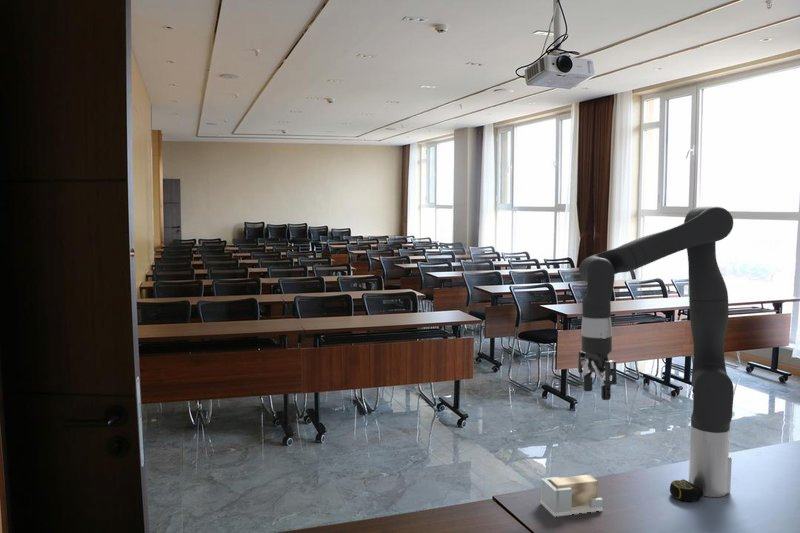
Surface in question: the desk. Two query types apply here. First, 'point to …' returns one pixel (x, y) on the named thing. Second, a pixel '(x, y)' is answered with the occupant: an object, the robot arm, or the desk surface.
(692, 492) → the tape measure
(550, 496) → the bracket board
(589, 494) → the beech rail
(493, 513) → the desk surface
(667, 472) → the desk surface
